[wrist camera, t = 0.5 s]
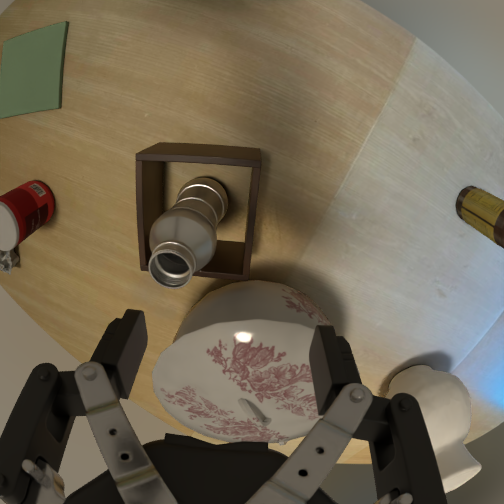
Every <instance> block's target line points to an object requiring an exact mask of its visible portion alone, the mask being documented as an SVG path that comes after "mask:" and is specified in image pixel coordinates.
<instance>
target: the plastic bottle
mask: <svg viewBox="0 0 504 504" xmlns="http://www.w3.org/2000/svg"><path fill="white" fill-rule="evenodd" d="M227 208H228V199H227V195H226V192H225V190H224V188H223V187H222V186H221V185H220V184H219V183H218V182H216V181H215V180H213V179H210V178H196V179H193V180H191V181H189V182H187V183H186V184H185V185H184V186H183V187H182V188H181V190H180V192H179V194H178V197H177V202H176V204H175V205H174V206H173V207H172V208H171V209H169V210H168V211H166V212H165V213H163V214H162V215H161V216H160V217H159V218H158V219H157V220H156V221H155V222H154V224H153V225H152V228H151V231H150V238H149V243H150V249H151V252H152V256H151V258H150V261H149V272H150V275H151V277H152V278H153V279H154V280H155V281H156V282H157V283H158V284H160V285H161V286H163V287H166V288H170V289H178V288H181V287H184V286H185V285H187V284H188V283H189V281H190V280H191V278H192V275H193V273H194V272H195V271H198V270H200V269H201V268H203V267H204V266H205V265H207V264H208V263H209V261H210V260H211V259H212V257H213V256H214V253H215V250H216V242H217V237H216V228H217V224H218V223H219V222H220V220H221V219H222V218H223V217H224V215H225V213H226V211H227Z"/></svg>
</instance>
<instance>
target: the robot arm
mask: <svg viewBox="0 0 504 504" xmlns="http://www.w3.org/2000/svg"><path fill="white" fill-rule="evenodd" d="M147 340H148V336H147V329H146V323H145V316H144V312H143V311H141V310H133V309H127V310H126V312H125V314H124V316H123V318H122V319H120V318H116V319H115V320H114V321H112V322H111V323H110V324H109V325H108V327H107V329H106V331H105V333H104V334H103V336H102V339H101V340H100V342H99V344H98V346H97V348H96V349H95V351H94V353H93V355H92V357H91V359H90V361H89V362H85V363H83V364H81V365H80V366H79V367H78V368H77V369H76V371H64V372H63V371H62V372H58V370H57V368H56V367H55V366H54V365H53V364H50V363H42V364H39V365H38V366H36V367H35V368H34V369H33V370H32V372H31V374H30V376H29V378H28V380H27V382H26V384H25V386H24V388H23V389H22V391H21V394H20V396H19V398H18V400H17V402H16V404H15V406H14V408H13V410H12V413H11V415H10V417H9V419H8V421H7V423H6V426H5V428H4V431H3V433H2V435H1V438H0V499H2V500H3V501H4V502H5V503H6V504H338V503H336V502H335V501H334V500H333V499H332V498H331V497H330V496H329V495H328V494H327V493H325V492H324V491H323V490H322V489H321V488H320V487H319V486H320V485H321V484H322V482H323V481H324V479H325V478H326V476H327V475H328V474H329V472H330V471H331V469H332V468H333V466H334V465H335V463H336V462H337V460H338V459H339V457H340V456H341V454H342V453H343V451H344V450H345V448H346V446H347V445H348V443H349V442H350V440H351V438H355V439H360V440H366V441H368V442H369V447H370V453H371V459H372V465H373V471H374V478H375V485H376V491H377V499H378V501H376V502H375V503H374V504H447V500H446V496H445V491H444V487H443V483H442V479H441V475H440V472H439V468H438V464H437V460H436V457H435V453H434V450H433V447H432V443H431V440H430V437H429V433H428V430H427V427H426V424H425V421H424V418H423V415H422V412H421V409H420V406H419V403H418V401H417V400H416V398H415V397H413V396H412V395H410V394H408V393H398V394H395V395H394V396H393V397H392V399H387V398H382V397H377V396H374V395H372V393H371V391H370V390H369V389H368V388H367V387H366V386H364V385H362V382H361V379H360V376H359V372H358V369H357V366H356V363H355V360H354V357H353V354H352V351H351V348H350V345H349V343H348V342H347V341H346V340H345V338H344V337H343V336H336V334H335V330H334V327H333V326H332V325H316V327H315V331H314V335H313V338H312V342H311V346H310V350H309V363H310V369H311V374H312V380H313V386H314V392H315V398H316V404H317V410H318V416H323V417H322V418H320V419H319V420H318V421H317V422H316V424H315V425H314V426H313V428H312V429H311V430H310V432H309V433H308V434H307V435H306V437H305V438H304V439H303V440H302V442H301V443H300V444H299V445H298V447H297V448H296V449H295V450H294V452H293V453H292V454H291V455H290V456H289V457H287V456H286V455H284V454H282V453H280V452H278V451H275V450H272V449H268V442H250V441H240V442H234V443H227V444H219V445H215V444H211V443H208V442H205V441H202V440H199V439H196V438H193V437H190V436H183V435H175V434H169V433H166V434H165V439H163V440H157V441H152V442H149V443H146V444H144V445H141V443H140V441H139V440H138V437H137V436H136V434H135V432H134V430H133V428H132V426H131V424H130V422H129V420H128V418H127V416H126V414H125V412H124V410H123V408H122V406H121V404H120V402H119V400H120V398H123V399H128V398H129V395H130V392H131V389H132V386H133V383H134V380H135V377H136V374H137V372H138V369H139V366H140V363H141V361H142V358H143V355H144V352H145V350H146V347H147ZM76 416H87V419H88V422H89V424H90V427H91V430H92V432H93V435H94V437H95V439H96V442H97V444H98V447H99V449H100V451H101V454H102V456H103V458H104V460H105V462H106V464H107V466H108V470H107V471H105V472H104V473H102V474H100V475H99V476H98V477H96V478H95V479H93V480H92V481H90V482H88V483H87V484H85V485H84V486H82V487H81V488H79V489H78V490H76V491H75V492H73V493H72V494H70V495H69V496H68V497H67V498H65V495H64V482H63V479H62V478H61V476H60V475H59V474H58V471H59V468H60V464H61V461H62V458H63V454H64V451H65V448H66V445H67V441H68V438H69V435H70V432H71V429H72V426H73V423H74V420H75V417H76Z"/></svg>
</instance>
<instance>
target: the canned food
mask: <svg viewBox="0 0 504 504" xmlns="http://www.w3.org/2000/svg"><path fill="white" fill-rule="evenodd" d="M54 207H55V205H54V198H53V195H52V193H51V191H50V189H49V188H48V187H47V186H46V185H45V184H43V183H42V182H39V181H29V182H27V183H25V184H23V185H21V186H19V187H17V188H15V189H13V190H11V191H9V192H8V193H6V194H4V195H2V196H0V250H2V251H10V250H11V249H13V248H15V247H16V246H17V245H18V244H20V243H21V242H22V241H23V240H25V239H26V238H27V237H28V236H30V235H31V234H32V233H33V232H35V231H36V230H37V229H38V228H40V227H41V226H42V225H44V224H45V223H46V222H48V221H49V219H50V218H51V216H52V214H53V212H54Z"/></svg>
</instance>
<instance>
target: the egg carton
mask: <svg viewBox="0 0 504 504" xmlns="http://www.w3.org/2000/svg"><path fill="white" fill-rule="evenodd" d="M18 261H19V257H18V256H17V255H16V253H15V252H14V248H13V249H11V250H10V251H2V250H0V270H1V271H3V272H7V273H8V274H11V269H12V268H13V267H14V266H15V265H16V263H17V262H18Z"/></svg>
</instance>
